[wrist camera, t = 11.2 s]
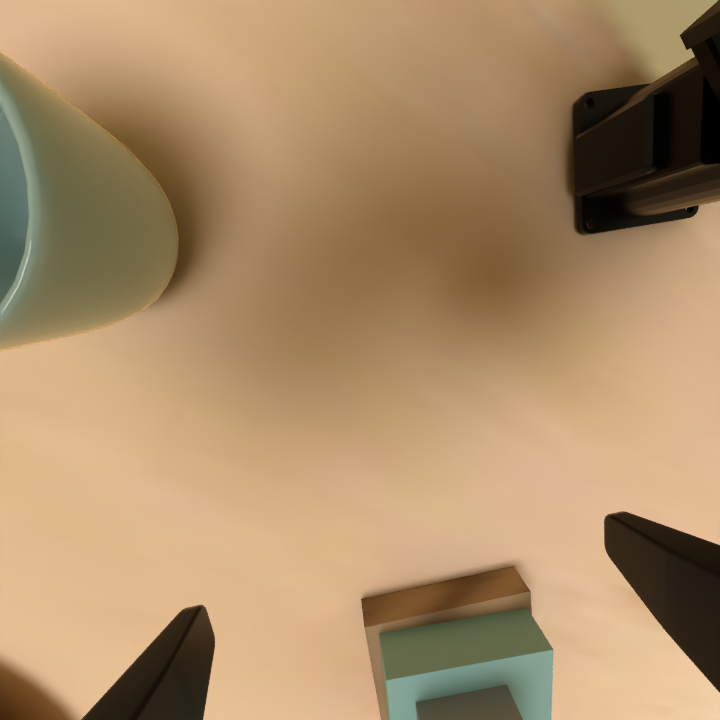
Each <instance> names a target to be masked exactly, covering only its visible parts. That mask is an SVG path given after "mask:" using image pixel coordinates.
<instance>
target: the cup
mask: <svg viewBox="0 0 720 720" xmlns="http://www.w3.org/2000/svg"><path fill="white" fill-rule="evenodd" d="M178 253H179V235H178V228H177V222H176V218H175V215H174V212H173V209H172V207H171V204H170V201H169V199H168V197H167V196H166V194H165V192H164V191H163V189H162V187H161V185H160V184H159V182H158V181H157V179H156V178H155V177H154V176H153V175H152V174H151V172H150V171H149V170H148V169H147V168H146V167H145V166H144V165H143V164H142V163H141V161H140V160H139V159H138V158H137V157H136V156H135V155H134V154H133V153H132V152H131V151H130V150H129V149H128V148H127V147H126V146H125V145H124V144H122V143H121V142H120V141H119V140H118V139H117V138H115V137H114V136H113V135H112V134H111V133H109V132H108V131H107V130H106V129H104V128H103V127H102V126H100V125H99V124H98V123H97V122H95V121H94V120H93V119H91V118H90V117H89V116H87V115H86V114H85V113H83V112H82V111H81V110H79V109H78V108H77V107H76V106H74V105H73V104H72V103H70V102H69V101H68V100H66V99H65V98H64V97H62V96H61V95H60V94H58V93H57V92H56V91H54V90H53V89H52V88H50V87H49V86H48V85H46V84H45V83H43V82H42V81H41V80H39V79H38V78H37V77H35V76H34V75H33V74H31V73H30V72H28V71H27V70H26V69H24V68H23V67H22V66H20V65H19V64H18V63H16V62H15V61H13V60H12V59H11V58H9V57H8V56H7V55H5V54H4V53H2V52H1V51H0V351H3V350H8V349H13V348H18V347H23V346H28V345H33V344H38V343H43V342H48V341H52V340H57V339H61V338H65V337H70V336H74V335H78V334H82V333H86V332H90V331H94V330H97V329H101V328H105V327H108V326H111V325H114V324H117V323H120V322H122V321H124V320H126V319H128V318H130V317H132V316H134V315H136V314H138V313H140V312H142V311H144V310H145V309H147V308H148V307H149V306H150V305H151V304H153V303H154V302H155V301H156V300H157V299H158V298H159V297H160V296H161V295H162V293H163V292H164V290H165V289H166V287H167V286H168V284H169V283H170V281H171V278H172V276H173V273H174V271H175V268H176V263H177V258H178Z"/></svg>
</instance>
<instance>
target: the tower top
mask: <svg viewBox="0 0 720 720" xmlns="http://www.w3.org/2000/svg"><path fill="white" fill-rule="evenodd" d="M379 639H380V649H381V659H382V669H383V679H384V689H385V699H386V709H387V719H388V720H417V714H416V703H415V702H420V701H425V700H430V699H435V698H440V697H445V696H450V695H455V694H460V693H466V692H471V691H476V690H481V689H486V688H491V687H496V686H501V685H506V684H507V686H508V688H509V690H510V693H511V695H512V697H513V699H514V701H515V703H516V706H517V708H518V710H519V712H520V714H521V716H522V719H523V720H551V708H552V677H553V648H552V647H551V645H550V644H549V642H548V640H547V639H546V637H545V636H544V634H543V632H542V631H541V629H540V628H539V626H538V625H537V623H536V621H535V620H534V618H533V617H532V615H531V613H530V612H529V610H528V609H527V608H523V609H517V610H512V611H506V612H500V613H494V614H489V615H483V616H477V617H471V618H465V619H460V620H454V621H448V622H442V623H437V624H431V625H425V626H419V627H413V628H408V629H402V630H396V631H390V632H385V633H379Z"/></svg>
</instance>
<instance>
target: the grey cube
mask: <svg viewBox="0 0 720 720" xmlns="http://www.w3.org/2000/svg"><path fill="white" fill-rule="evenodd" d="M415 703H416V714H417V720H523V719H522V716H521V714H520V712H519V710H518V708H517V706H516V703H515V701H514V699H513V697H512V695H511V693H510V690H509V688H508V686H507V684H506V685H501V686H496V687H491V688H486V689H481V690H476V691H471V692H466V693H460V694H455V695H450V696H445V697H440V698H435V699H430V700H425V701H420V702H415Z"/></svg>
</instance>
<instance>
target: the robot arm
mask: <svg viewBox="0 0 720 720" xmlns="http://www.w3.org/2000/svg"><path fill="white" fill-rule="evenodd" d="M680 37H681V39H682V41H683V43H684V45H685V47H686V49H687V50H688V49H690V48H691V49H692V51H693V53H694V55H695V57H694V58H692V59H690V60H689V61H687V62H686V63H684V64H682V65H681V66H679V67H677V68H676V69H674V70H673V71H671V72H669V73H668V74H666V75H664V76H663V77H661V78H660V79H658V80H656V81H655V82H653V83H652V84H644V85H637V86H630V87H622V88H615V89H608V90H600V91H593V92H588V93H585V94H584V95H583V96H581V97H580V98H579V99H578V100H577V101H576V102H575V104H574V139H575V141H574V157H575V192H576V215H577V230H578V232H579V233H580V234H582V235H589V234H595V233H601V232H607V231H613V230H619V229H625V228H631V227H638V226H644V225H650V224H656V223H662V222H668V221H674V220H680V219H686V218H690V217H693V216H694V215H695V214H696V213H697V211H698V207H699V205H702V204H706V203H711V202H716V201H720V0H719V1H717V2H716V3H715V4H714V5H713V6H712V7H711V8H710V9H709V10H707V11H706V12H705V13H704V14H703V15H702V16H701V17H700V18H699V19H697V20H696V21H695V22H694V23H693V24H692V25H691V26H690V27H688V28H687V29H686V30H685V31H684V32H683V33H682V34H681V35H680ZM585 102H586V103H587V104H588V109H586V108H585V106H584V103H585ZM685 208H687V210H686V209H685ZM587 221H589V222H590V227H589V228H588V227H587ZM604 544H605V549H606V552H607V554H608V556H609V557H610V559H611V560H612V561H613V563H614V564H615V565H616V567H617V568H618V569H619V571H620V572H621V573H622V575H623V576H624V577H625V579H626V580H627V581H628V583H629V584H630V585H631V587H632V588H633V589H634V590H635V592H636V593H637V594H638V596H639V597H640V598H641V600H642V601H643V602H644V604H645V605H646V606H647V608H648V609H649V610H650V612H651V613H652V614H653V616H654V617H655V618H656V619H657V621H658V622H659V623H660V624H661V626H662V627H663V628H664V629H665V631H666V632H667V633H668V634H669V635H670V637H671V638H672V639H673V640H674V641H675V642H676V644H677V645H678V646H679V647H680V648H681V649H682V650H683V651H684V653H685V654H686V655H687V656H688V657H689V658H690V659H691V661H692V662H693V663H694V664H695V665H696V666H697V667H698V669H699V670H700V671H701V672H702V673H703V674H704V675H705V676H706V678H707V679H708V680H709V681H710V682H711V683H712V684H713V686H714V687H715V688H716V689H717V690H718V691H719V692H720V545H718V544H715V543H712V542H709V541H707V540H704V539H701V538H698V537H695V536H693V535H690V534H687V533H684V532H681V531H678V530H676V529H673V528H670V527H667V526H664V525H662V524H659V523H656V522H653V521H650V520H648V519H645V518H642V517H639V516H636V515H634V514H631V513H628V512H617V513H612V514H608V515H607V516H606V517H605V519H604ZM214 648H215V637H214V632H213V629H212V626H211V623H210V619H209V616H208V613H207V610H206V608H205V607H204V606H203V605H197V606H193V607H188V608H185V609H183V610H182V611H181V612H179V614H178V615H177V616H176V617H175V618H174V619H173V620H172V621H171V622H170V623H169V624H168V626H167V627H166V628H165V629H164V630H163V631H162V632H161V633H160V634H159V635H158V636H157V638H156V639H155V640H154V641H153V642H152V643H151V644H150V645H149V646H148V647H147V648H146V650H145V651H144V652H143V653H142V654H141V655H140V656H139V657H138V658H137V659H136V660H135V662H134V663H133V664H132V665H131V666H130V667H129V668H128V669H127V670H126V671H125V672H124V674H123V675H122V676H121V677H120V678H119V679H118V680H117V681H116V682H115V683H114V685H113V686H112V687H111V688H110V689H109V690H108V691H107V692H106V693H105V694H104V695H103V697H102V698H101V699H100V700H99V701H98V702H97V703H96V704H95V705H94V706H93V707H92V709H91V710H90V711H89V712H88V713H87V714H86V715H85V716H84V717H83V718H82V719H81V720H203V717H204V710H205V704H206V698H207V692H208V686H209V680H210V673H211V667H212V661H213V655H214Z"/></svg>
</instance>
